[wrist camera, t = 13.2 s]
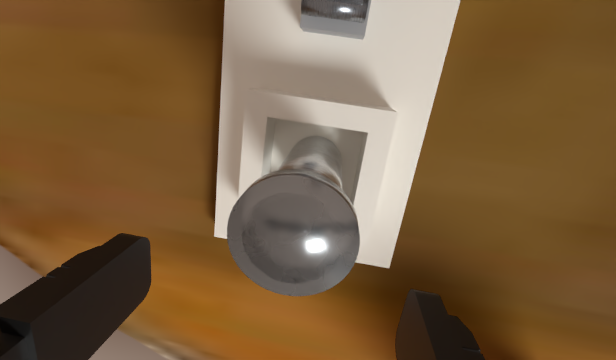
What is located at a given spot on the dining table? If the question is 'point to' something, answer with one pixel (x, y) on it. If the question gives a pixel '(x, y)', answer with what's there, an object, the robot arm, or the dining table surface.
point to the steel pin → (297, 223)
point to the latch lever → (336, 9)
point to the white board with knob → (332, 101)
